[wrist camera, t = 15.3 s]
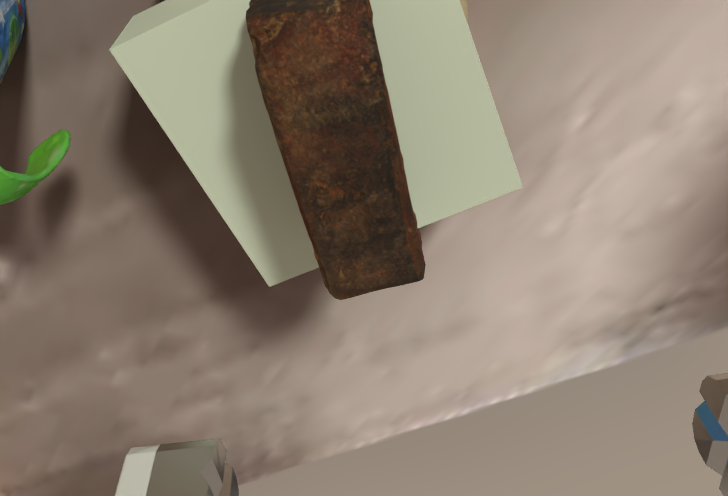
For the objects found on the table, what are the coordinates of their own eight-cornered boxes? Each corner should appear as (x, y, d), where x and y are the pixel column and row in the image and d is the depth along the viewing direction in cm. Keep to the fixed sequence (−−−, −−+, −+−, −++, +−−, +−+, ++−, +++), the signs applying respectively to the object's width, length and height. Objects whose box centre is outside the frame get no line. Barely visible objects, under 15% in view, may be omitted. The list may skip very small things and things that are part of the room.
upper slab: (408, -120, 25) (424, -104, 22) (500, 144, 32) (523, 187, 29) (133, 16, 27) (109, 49, 24) (272, 237, 34) (269, 287, 31)
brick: (415, 216, 29) (432, 284, 25) (325, 237, 29) (329, 307, 25) (360, -39, 23) (372, -2, 19) (248, -10, 23) (237, 32, 19)
